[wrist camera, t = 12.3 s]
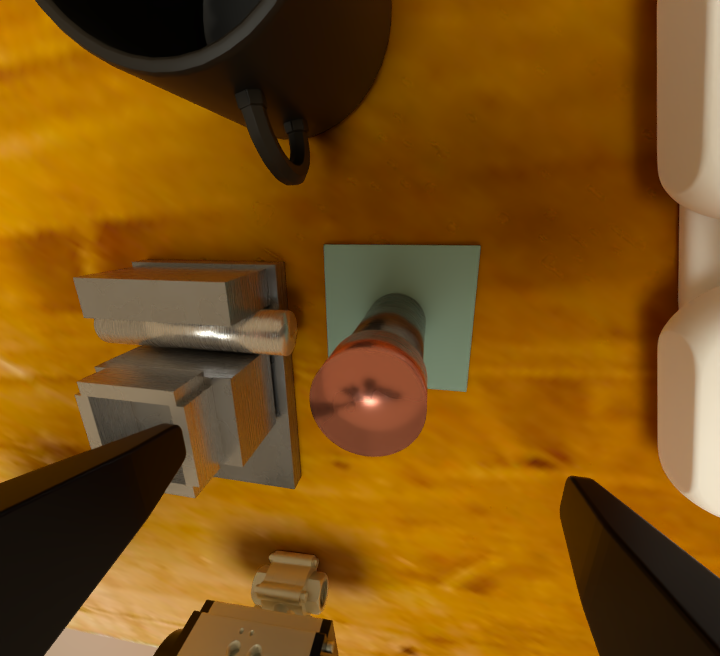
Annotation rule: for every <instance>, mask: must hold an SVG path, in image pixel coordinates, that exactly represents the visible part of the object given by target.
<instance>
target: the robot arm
mask: <svg viewBox="0 0 720 656" xmlns="http://www.w3.org/2000/svg"><path fill="white" fill-rule="evenodd" d="M185 458H186V447H185V442H184V438H183V433H182V429H181V427H180V426H179V425H176V424H169V423H162V424H159V425H157V426H154V427H151V428H148V429H146V430H143V431H140V432H138V433H135V434H132V435H129V436H127V437H124V438H121V439H119V440H116V441H113V442H110V443H108V444H105V445H102V446H100V447H97V448H94V449H91V450H89V451H86V452H83V453H81V454H78V455H75V456H72V457H70V458H67V459H64V460H62V461H59V462H56V463H53V464H51V465H48V466H45V467H43V468H40V469H37V470H34V471H32V472H29V473H26V474H24V475H21V476H18V477H16V478H13V479H10V480H7V481H5V482H2V483H0V656H44V655H45V654H46V652H47V651H48V650H49V648H50V647H51V646H52V644H53V643H54V642H55V641H56V639H57V638H58V637H59V635H60V634H61V633H62V631H63V629H65V627H66V626H67V625H68V623H69V622H70V621H71V619H72V618H73V617H74V615H75V614H76V613H77V611H78V610H79V609H80V607H81V606H82V605H83V603H84V602H85V601H86V600H87V598H88V597H89V596H90V594H91V593H92V592H93V590H94V589H95V588H96V586H97V585H98V584H99V582H100V581H101V580H102V578H103V577H104V576H105V574H106V573H107V572H108V570H109V569H110V568H111V566H112V565H113V564H114V563H115V561H116V560H117V559H118V557H119V556H120V555H121V553H122V552H123V551H124V549H125V548H126V547H127V545H128V544H129V543H130V541H131V540H132V539H133V537H134V536H135V535H136V533H137V532H138V531H139V529H140V528H141V527H142V525H143V524H144V523H145V521H146V520H147V519H148V517H149V516H150V514H151V513H152V511H153V510H154V508H155V506H156V505H157V503H158V502H159V500H160V499H161V497H162V495H163V494H164V492H165V491H166V489H167V488H168V486H169V484H170V483H171V481H172V480H173V478H174V476H175V475H176V473H177V472H178V470H179V469H180V467H181V465H182V464H183V462H184V460H185ZM560 519H561V523H562V527H563V531H564V535H565V539H566V543H567V548H568V552H569V556H570V560H571V564H572V568H573V572H574V576H575V580H576V584H577V588H578V592H579V596H580V600H581V603H582V606H583V609H584V612H585V615H586V618H587V621H588V624H589V627H590V630H591V633H592V636H593V638H594V641H595V644H596V647H597V650H598V653H599V655H600V656H720V578H719V577H717V576H716V575H715V574H713V573H712V572H711V571H710V570H708V569H707V568H706V567H704V566H703V565H702V564H701V563H699V562H698V561H697V560H696V559H694V558H693V557H692V556H690V555H689V554H688V553H687V552H685V551H684V550H683V549H681V548H680V547H679V546H678V545H676V544H675V543H674V542H672V541H671V540H670V539H669V538H667V537H666V536H665V535H663V534H662V533H661V532H660V531H658V530H657V529H656V528H655V527H653V526H652V525H651V524H649V523H648V522H647V521H646V520H644V519H643V518H642V517H640V516H639V515H638V514H637V513H635V512H634V511H633V510H631V509H630V508H629V507H628V506H626V505H625V504H624V503H623V502H621V501H620V500H619V499H617V498H616V497H615V496H614V495H612V494H611V493H610V492H608V491H607V490H606V489H605V488H603V487H602V486H601V485H599V484H598V483H597V482H596V481H594V480H593V479H591V478H585V477H578V476H570V477H568V478H567V480H566V483H565V487H564V491H563V496H562V500H561V505H560Z"/></svg>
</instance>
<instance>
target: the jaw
mask: <svg viewBox="0 0 720 656" xmlns="http://www.w3.org/2000/svg"><path fill="white" fill-rule="evenodd" d="M95 369H96V373H94V374H92V375H90V376H88V377H86V378H84V379H82V380H80V381H77V384H78V387H79V390H80V393H78V394H76V395H75V397H76V401H77V404H78V407H79V410H80V414H81V417H82V420H83V423H84V427H85V430H86V433H87V436H88V440H89V443H90V446H91V449H94V448H97V447H100V446H102V445H105V444H108V443H110V442H113V441H116V440H119V439H121V438H124V437H127V436H129V435H132V434H135V433H138V432H140V431H143V430H146V429H148V428H151V427H154V426H157V425H159V424H162V423H169V424H176V425H179V426H180V427H181V429H182V433H183V438H184V442H185V447H186V458H185V460H184V462H183V464H182V465H181V467H180V469H179V470H178V472H177V473H176V475H175V476H174V478H173V480H172V481H171V483H170V484H169V486H168V488H167V489H166V491H165V492H164V493H168V494H174V495H180V496H186V497H191V498H196V497H197V495H198V494H199V493H200V492H201V491H202V489H203V488H204V487H205V486H206V485H207V483H208V482H209V481H210V480H211V479H212V477H213V476H214V475H215V474H216V473H217V471H218V470H219V469H220V466H219V464H224V465H231V466H238V467H243V466H244V465H245V464H246V462H247V461H248V460H249V458H250V457H251V456H252V454H253V453H254V452H255V450H256V449H257V448H258V446H259V445H260V444H261V443H262V441H263V440H264V439H265V437H266V436H267V435H268V433H269V432H270V431H271V429H272V428H273V427H274V425H275V424H276V415H275V405H274V395H273V385H272V376H271V366H270V356H269V355H267V354H253V353H240V352H226V351H213V350H200V349H186V348H173V347H159V346H146V345H142V346H140V347H137V348H135V349H133V350H131V351H129V352H126V353H124V354H122V355H120V356H118V357H115V358H113V359H111V360H109V361H106V362H104V363H102V364H100V365H98V366H95Z"/></svg>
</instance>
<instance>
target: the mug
mask: <svg viewBox="0 0 720 656" xmlns="http://www.w3.org/2000/svg"><path fill="white" fill-rule="evenodd" d="M35 1H36V2H37V3H38V5H39V6H40V7H41V8H42V9H43V11H44V12H45V13H46V14H47V15H48V16H49V17H50V18H51V19H52V20H53V21H54V22H55V23H56V25H57V26H58V27H59V28H60V29H61V30H62V31H63V32H64V33H65V34H67V35H68V36H69V37H70V38H72V39H73V40H74V41H75V42H76V43H78V44H79V45H80V46H81V47H83V48H84V49H85V50H87V51H88V52H90V53H91V54H93V55H95V56H96V57H98V58H100V59H101V60H103V61H105V62H107V63H108V64H110V65H112V66H114V67H116V68H118V69H120V70H123V71H125V72H127V73H129V74H131V75H133V76H136V77H138V78H140V79H142V80H144V81H147V82H149V83H151V84H153V85H155V86H158V87H160V88H162V89H164V90H166V91H169V92H171V93H173V94H175V95H177V96H179V97H182V98H184V99H186V100H188V101H190V102H193V103H195V104H197V105H199V106H201V107H204V108H206V109H208V110H210V111H212V112H214V113H217V114H219V115H221V116H223V117H225V118H228V119H230V120H232V121H234V122H236V123H239V124H241V125H243V126H245V127H247V129H248V131H249V134H250V137H251V139H252V141H253V143H254V145H255V147H256V149H257V151H258V153H259V155H260V157H261V158H262V160H263V162H264V163H265V165H266V166H267V168H268V169H269V170H270V172H271V173H272V174H273V175H274V176H275V178H276V179H278V180H279V181H280V182H282V183H284V184H286V185H298V184H301V183H303V181H304V179H305V177H306V175H307V172H308V169H309V165H310V151H309V143H308V137H311V136H314V135H317V134H319V133H322V132H324V131H326V130H328V129H330V128H332V127H333V126H335V125H336V124H338V123H340V122H341V121H342V120H343V119H344V118H345V117H347V116H348V115H349V114H350V113H351V112H352V111H353V110H354V109H355V108H356V106H357V105H358V104H359V103H360V102H361V101H362V99H363V98H364V97H365V95H366V93H367V92H368V90H369V89H370V87H371V85H372V83H373V82H374V80H375V78H376V75H377V73H378V71H379V69H380V66H381V64H382V61H383V57H384V54H385V51H386V47H387V43H388V38H389V32H390V26H391V9H392V2H391V0H35ZM277 138H280V139H289V145H290V160H289V159H288V158H287V156H286V155H285V153H284V152H283V150H282V148H281V146H280V145H279V143H278V140H277Z"/></svg>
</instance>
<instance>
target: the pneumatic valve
mask: <svg viewBox="0 0 720 656" xmlns="http://www.w3.org/2000/svg"><path fill="white" fill-rule="evenodd" d="M269 561H270V563H271V565H264V566H262V567H260V568H259V569H258V571H257V573H256V575H255V577H254V580H253V584H252V590H251V596H252V600H253V602H254V603H255V604H257V605H255V606H254V607H248V606H242V605H236V604H230V603H224V602H218V601H212V600H206V602H205V604H204V605H203V607H202V609H201V610H200V612H199V611H194V612H193V613H192V615H191V617H190V618H189V620H188V622H187V623H186V625H185V627H184V628H183V629H178V630H176V631H174V632H172V633H171V634H170V635H169V636H168V637H167V638H166V639H165V640H164V641H163V642H162V643H161V645H160V646H159V648H158V649H157V650H156V652H155V654H154V655H153V656H338V650H337V644H336V638H335V633H334V627H333V621H332V620H327V619H320V618H314V617H312V616H310V614H311V613H312V614H320V613H321V612H322V611H323V610H324V608H325V605H326V601H327V596H328V585H329V583H328V577H327V575H326V573H324V572H317V567H318V564H319V559H318V558H316V557H315V555H310V554H301V553H293V552H285V551H276V552H275V553H271V555H270V556H269ZM260 605H261V606H262V607H261V606H260Z"/></svg>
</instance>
